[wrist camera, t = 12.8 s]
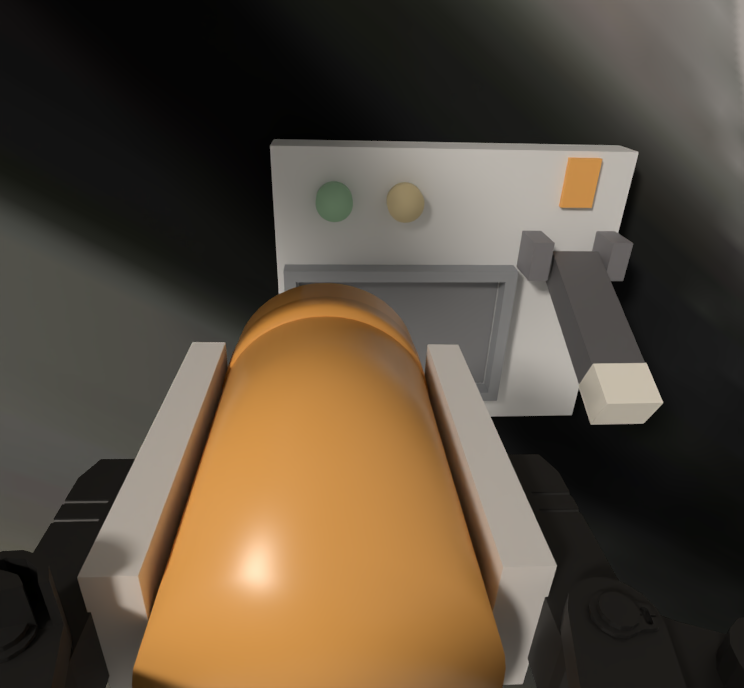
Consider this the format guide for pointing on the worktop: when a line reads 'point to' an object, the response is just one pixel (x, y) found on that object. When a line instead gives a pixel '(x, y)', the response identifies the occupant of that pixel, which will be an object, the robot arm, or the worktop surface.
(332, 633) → the cap
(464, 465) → the robot arm
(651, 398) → the breaker lever
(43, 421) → the worktop surface
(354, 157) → the panel
